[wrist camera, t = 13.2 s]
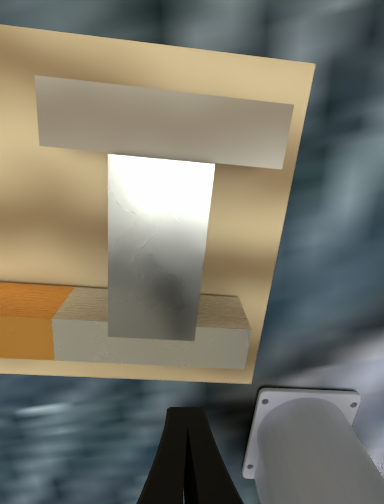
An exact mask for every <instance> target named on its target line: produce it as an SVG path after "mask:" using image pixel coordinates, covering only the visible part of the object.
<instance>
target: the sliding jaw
mask: <svg viewBox="0 0 384 504" xmlns="http://www.w3.org/2000/svg"><path fill="white" fill-rule="evenodd" d="M251 332H252V329H251V326H250V324H249V322H248V319H247V317H246V314H245V312H244V309H243V307H242V304H241V302H240V299H239V297H224V296H209V295H200V298H199V307H198V315H197V324H196V333H195V341H179V340H160V339H141V338H122V337H108V289H99V288H84V287H68V286H52V285H37V284H21V283H6V282H0V358H10V359H32V360H53V361H75V362H97V363H118V364H140V365H162V366H183V367H205V368H227V369H245V364H246V359H247V353H248V348H249V343H250V337H251Z"/></svg>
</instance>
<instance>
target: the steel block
mask: <svg viewBox="0 0 384 504" xmlns="http://www.w3.org/2000/svg"><path fill="white" fill-rule="evenodd" d="M214 168H215V164H213V163H210V162H200V161H189V160H179V159H169V158H158V157H148V156H138V155H127V154H117V153H112V154H108V337H122V338H141V339H160V340H179V341H195V333H196V324H197V315H198V307H199V298H200V289H201V281H202V272H203V263H204V255H205V246H206V237H207V229H208V220H209V211H210V202H211V194H212V185H213V176H214Z"/></svg>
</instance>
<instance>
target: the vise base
mask: <svg viewBox="0 0 384 504" xmlns="http://www.w3.org/2000/svg"><path fill="white" fill-rule="evenodd" d="M314 69H315V64H313V63H305V62H297V61H289V60H281V59H273V58H265V57H257V56H249V55H241V54H233V53H225V52H217V51H209V50H201V49H192V48H184V47H176V46H168V45H160V44H152V43H144V42H136V41H128V40H120V39H112V38H104V37H96V36H88V35H80V34H72V33H64V32H56V31H48V30H40V29H32V28H24V27H16V26H8V25H0V282H6V283H21V284H37V285H52V286H68V287H84V288H99V289H108V154H112V153H117V154H127V155H138V156H148V157H158V158H169V159H179V160H189V161H200V162H210V163H213V164H215V168H214V176H213V185H212V194H211V202H210V211H209V220H208V229H207V237H206V246H205V255H204V263H203V272H202V281H201V289H200V295H209V296H224V297H239V299H240V302H241V304H242V307H243V309H244V312H245V314H246V317H247V319H248V322H249V324H250V326H251V329H252V332H251V337H250V343H249V348H248V353H247V359H246V364H245V369H227V368H205V367H183V366H162V365H140V364H118V363H97V362H75V361H53V360H32V359H10V358H0V373H6V374H30V375H53V376H77V377H100V378H124V379H147V380H171V381H194V382H218V383H241V384H251V382H252V377H253V372H254V367H255V362H256V357H257V352H258V347H259V342H260V337H261V332H262V327H263V323H264V318H265V313H266V308H267V303H268V298H269V293H270V288H271V283H272V278H273V273H274V268H275V263H276V258H277V253H278V248H279V243H280V238H281V233H282V228H283V223H284V218H285V213H286V208H287V203H288V198H289V193H290V188H291V183H292V178H293V173H294V168H295V163H296V158H297V153H298V149H299V144H300V139H301V134H302V129H303V124H304V119H305V114H306V109H307V104H308V99H309V94H310V89H311V84H312V79H313V74H314Z"/></svg>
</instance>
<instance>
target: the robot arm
mask: <svg viewBox="0 0 384 504" xmlns="http://www.w3.org/2000/svg"><path fill="white" fill-rule="evenodd" d="M264 399H266V400H264ZM360 402H361V396H360V395H359V393H358V392H355V391H331V390H307V389H284V388H263V389H261V390H260V391H259V393H258V398H257V402H256V407H255V412H254V416H253V421H252V426H251V430H250V435H249V440H248V444H247V449H246V454H245V458H244V463H243V468H242V475H243V477H244V478H247V479H255V483H256V488H257V492H258V497H259V501H260V504H384V479H383V477H382V475H381V474H380V472H379V471H378V469H377V467H376V466H375V464H374V462H373V461H372V459H371V458H370V456H369V454H368V453H367V451H366V450H365V448H364V446H363V445H362V443H361V442H360V440H359V438H358V437H357V435H356V433H355V432H354V430H353V429H352V427H351V426H352V424H353V421H354V418H355V415H356V413H357V410H358V407H359V404H360ZM183 487H184V500H185V504H244V503H243V501H242V499H241V498H240V496H239V494H238V492H237V490H236V488H235V486H234V484H233V482H232V480H231V477H230V475H229V473H228V471H227V469H226V466H225V464H224V462H223V460H222V457H221V455H220V453H219V450H218V448H217V445H216V443H215V440H214V437H213V435H212V432H211V429H210V426H209V423H208V420H207V416H206V412H205V410H204V409H203V408H192V407H170V408H168V409H167V415H166V421H165V426H164V430H163V434H162V437H161V441H160V444H159V447H158V450H157V453H156V456H155V459H154V462H153V465H152V467H151V470H150V473H149V475H148V477H147V480H146V482H145V485H144V487H143V490H142V492H141V495H140V497H139V499H138V502H137V504H183Z"/></svg>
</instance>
